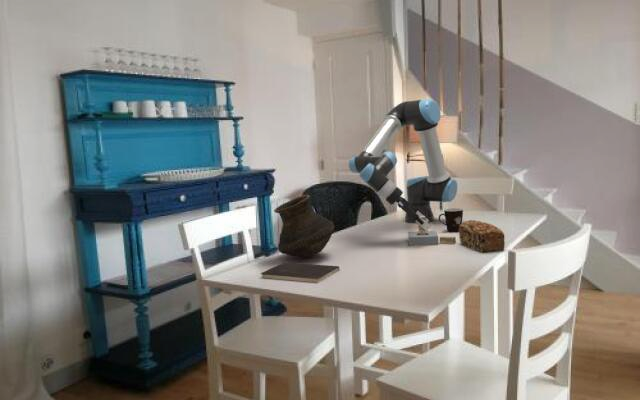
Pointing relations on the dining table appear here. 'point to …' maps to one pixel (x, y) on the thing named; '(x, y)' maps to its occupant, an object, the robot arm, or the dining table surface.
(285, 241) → the ceramic pot
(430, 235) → the socket block
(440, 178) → the robot arm
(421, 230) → the long oak peg
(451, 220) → the coffee mug
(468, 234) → the bread
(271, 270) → the hardcover book
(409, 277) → the dining table surface
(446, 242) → the short oak peg
